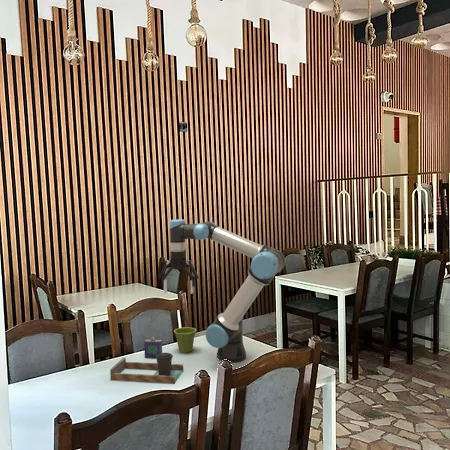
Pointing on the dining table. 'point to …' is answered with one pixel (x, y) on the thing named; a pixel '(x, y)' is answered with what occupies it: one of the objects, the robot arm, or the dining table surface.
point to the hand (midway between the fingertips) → (178, 292)
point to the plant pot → (185, 338)
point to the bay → (156, 378)
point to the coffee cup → (164, 363)
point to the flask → (152, 348)
